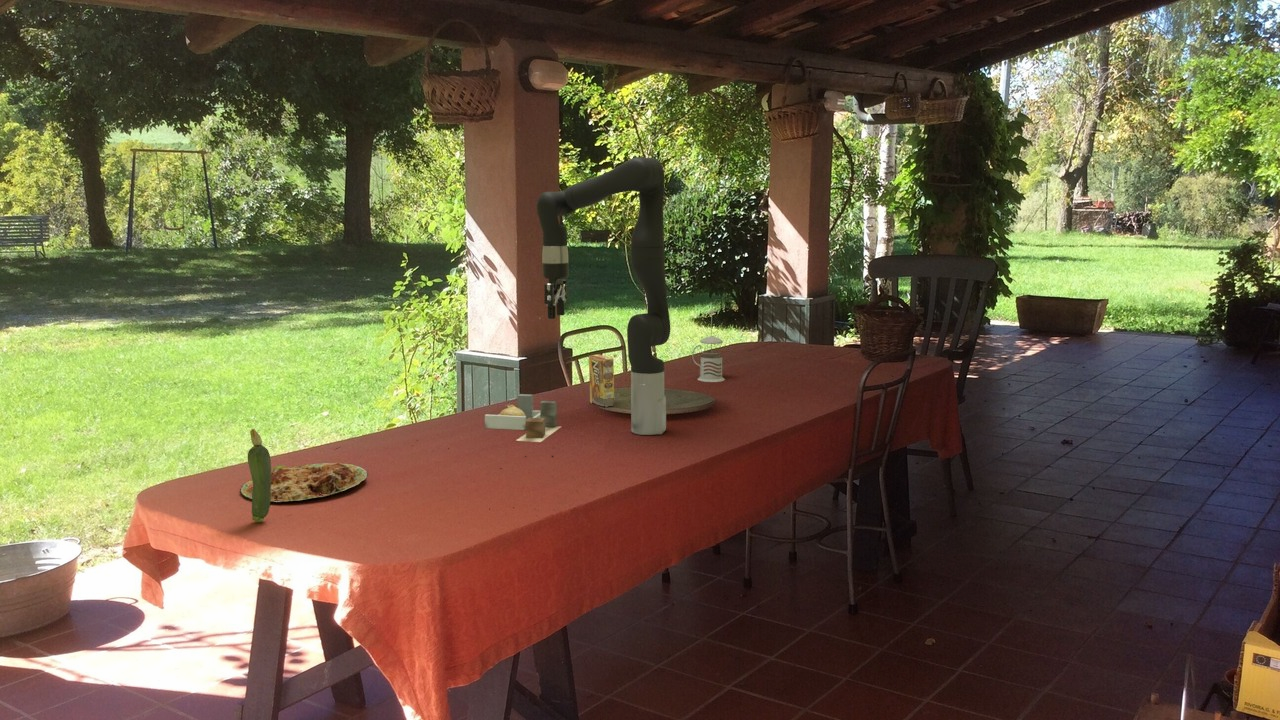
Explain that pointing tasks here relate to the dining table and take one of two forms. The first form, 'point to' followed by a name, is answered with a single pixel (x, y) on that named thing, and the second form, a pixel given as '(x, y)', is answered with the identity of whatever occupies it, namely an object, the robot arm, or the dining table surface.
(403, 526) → the dining table surface
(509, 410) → the onion
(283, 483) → the rice dish
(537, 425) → the walnut cube
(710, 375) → the french press
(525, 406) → the grey rectangular frame
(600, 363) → the candy box
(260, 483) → the vegetable
